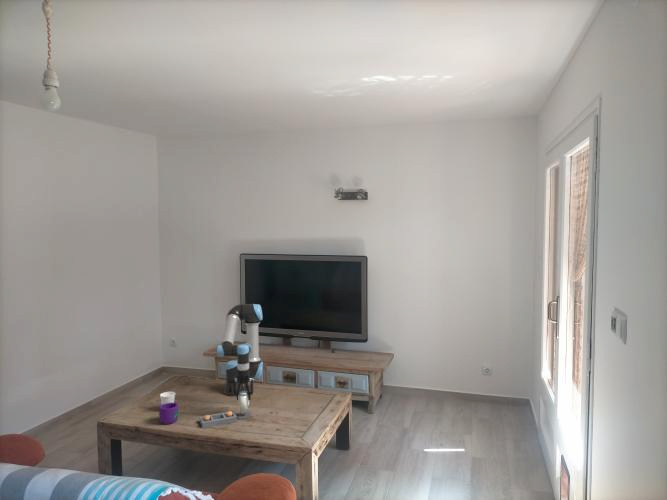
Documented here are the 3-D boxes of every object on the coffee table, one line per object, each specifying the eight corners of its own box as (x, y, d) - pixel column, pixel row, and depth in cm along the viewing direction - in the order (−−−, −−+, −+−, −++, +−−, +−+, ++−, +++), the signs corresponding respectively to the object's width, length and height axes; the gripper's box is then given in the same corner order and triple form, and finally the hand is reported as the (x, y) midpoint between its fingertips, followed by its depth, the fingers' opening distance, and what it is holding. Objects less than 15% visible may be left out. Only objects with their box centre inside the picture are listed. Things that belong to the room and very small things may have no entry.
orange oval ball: (231, 415, 307) (231, 410, 307) (232, 417, 304) (232, 412, 304) (225, 416, 305) (225, 411, 305) (227, 418, 302) (227, 413, 302)
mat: (248, 412, 317) (248, 411, 317) (252, 417, 309) (252, 416, 309) (235, 414, 313) (235, 414, 313) (238, 419, 305) (238, 418, 305)
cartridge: (241, 409, 313) (240, 390, 313) (248, 410, 313) (248, 391, 312) (238, 412, 308) (238, 393, 308) (246, 413, 308) (246, 393, 307)
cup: (170, 413, 315) (170, 397, 315) (157, 412, 317) (156, 396, 317) (178, 408, 325) (178, 392, 325) (165, 407, 327) (164, 391, 326)
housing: (232, 415, 311) (232, 411, 311) (236, 421, 301) (236, 417, 301) (199, 421, 302) (199, 416, 302) (202, 427, 292) (202, 423, 292)
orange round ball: (209, 419, 301) (209, 414, 301) (210, 421, 298) (210, 416, 298) (203, 420, 299) (203, 415, 299) (204, 422, 296) (204, 417, 296)
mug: (173, 425, 296) (172, 409, 296) (155, 424, 298) (155, 408, 298) (186, 414, 314) (185, 399, 313) (169, 413, 315) (169, 398, 315)
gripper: (227, 370, 306) (228, 406, 307) (255, 371, 305) (256, 407, 306) (231, 367, 314) (231, 402, 315) (258, 367, 313) (258, 403, 313)
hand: (243, 404), depth 310 cm, fingers closed on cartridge, 5 cm apart
